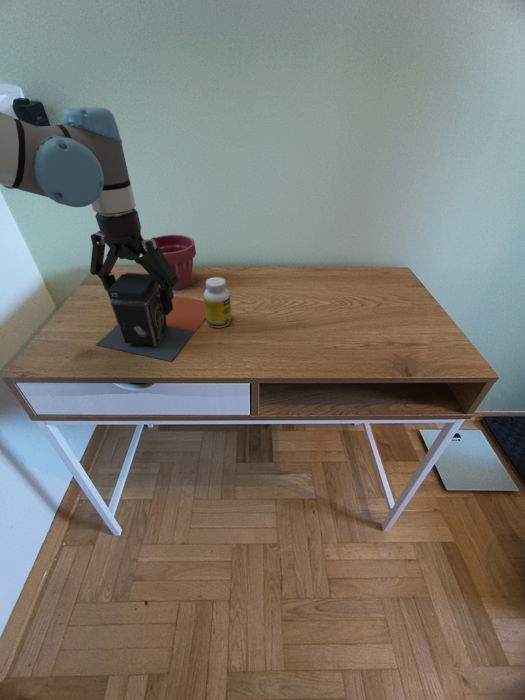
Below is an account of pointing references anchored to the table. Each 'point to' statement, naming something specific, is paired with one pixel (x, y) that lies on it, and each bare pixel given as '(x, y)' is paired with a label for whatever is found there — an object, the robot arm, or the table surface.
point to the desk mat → (179, 331)
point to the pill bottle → (217, 303)
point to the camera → (138, 309)
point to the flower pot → (179, 256)
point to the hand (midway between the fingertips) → (142, 307)
